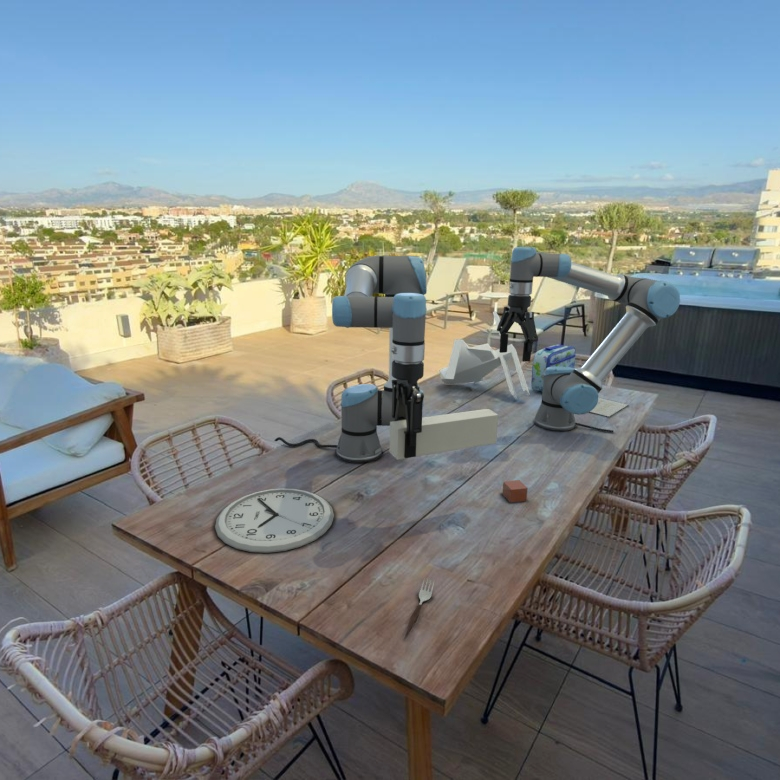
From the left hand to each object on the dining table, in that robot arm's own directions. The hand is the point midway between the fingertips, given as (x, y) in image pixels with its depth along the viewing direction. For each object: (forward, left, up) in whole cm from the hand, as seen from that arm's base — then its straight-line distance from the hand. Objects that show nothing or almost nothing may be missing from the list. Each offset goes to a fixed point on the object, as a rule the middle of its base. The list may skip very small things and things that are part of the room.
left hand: (405, 452), depth 129 cm
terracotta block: (+20, +29, -20) cm, 40 cm away
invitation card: (+27, +127, -20) cm, 131 cm away
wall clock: (-29, -16, -20) cm, 39 cm away
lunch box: (+2, +141, -20) cm, 142 cm away
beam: (+6, +9, 0) cm, 11 cm away
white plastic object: (-25, +117, -20) cm, 121 cm away
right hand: (+4, +70, +11) cm, 71 cm away
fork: (+18, -27, -20) cm, 38 cm away
